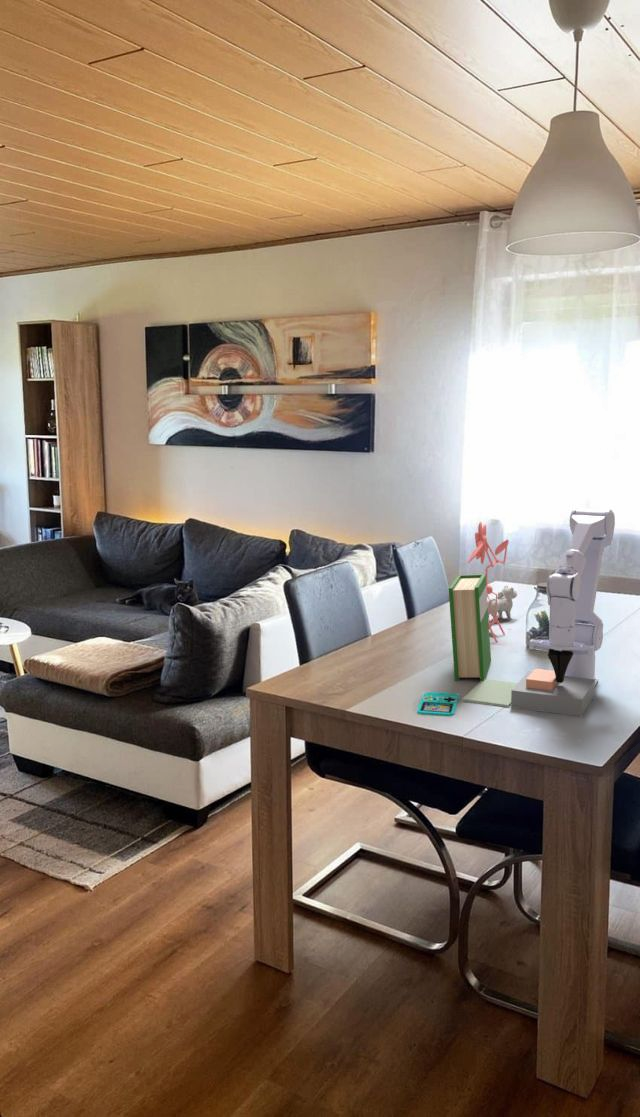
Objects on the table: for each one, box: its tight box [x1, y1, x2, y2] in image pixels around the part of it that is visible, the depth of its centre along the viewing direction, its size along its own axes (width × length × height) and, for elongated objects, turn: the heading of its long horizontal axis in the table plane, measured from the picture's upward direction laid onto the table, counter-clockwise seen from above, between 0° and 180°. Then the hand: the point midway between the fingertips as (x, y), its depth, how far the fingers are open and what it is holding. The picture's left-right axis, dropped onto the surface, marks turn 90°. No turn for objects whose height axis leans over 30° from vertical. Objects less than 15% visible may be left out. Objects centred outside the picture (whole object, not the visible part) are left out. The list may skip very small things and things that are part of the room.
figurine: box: [467, 521, 513, 643], centre depth 266 cm, size 15×26×35 cm, turn 155°
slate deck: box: [510, 671, 596, 717], centre depth 210 cm, size 16×16×4 cm
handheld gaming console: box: [416, 691, 459, 717], centre depth 210 cm, size 8×1×15 cm
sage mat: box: [462, 678, 518, 708], centre depth 217 cm, size 17×11×1 cm, turn 153°
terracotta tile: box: [526, 668, 558, 690], centre depth 211 cm, size 9×6×2 cm, turn 154°
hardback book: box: [448, 573, 492, 682], centre depth 232 cm, size 18×7×24 cm, turn 164°
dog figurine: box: [487, 585, 518, 624], centre depth 289 cm, size 5×13×11 cm, turn 127°
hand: (560, 681), depth 209 cm, fingers closed
